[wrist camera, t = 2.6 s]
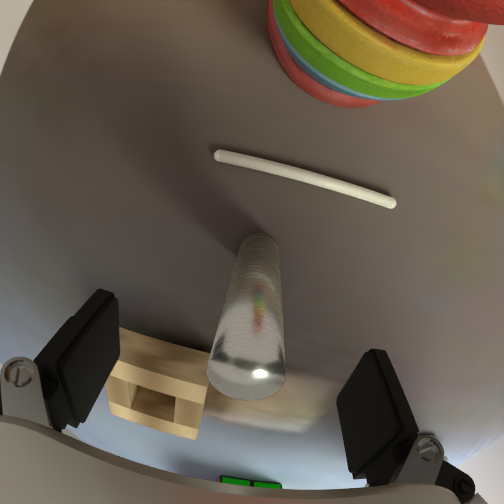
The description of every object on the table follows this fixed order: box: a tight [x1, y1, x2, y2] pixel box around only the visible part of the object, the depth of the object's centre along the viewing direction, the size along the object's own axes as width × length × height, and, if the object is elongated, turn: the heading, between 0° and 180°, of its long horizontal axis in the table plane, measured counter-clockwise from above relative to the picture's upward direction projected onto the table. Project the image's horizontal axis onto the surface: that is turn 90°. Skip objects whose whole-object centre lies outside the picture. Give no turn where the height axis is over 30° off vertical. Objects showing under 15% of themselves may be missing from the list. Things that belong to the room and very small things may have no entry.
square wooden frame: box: [105, 327, 210, 440], centre depth 24 cm, size 9×9×4 cm
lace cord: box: [214, 150, 396, 209], centre depth 18 cm, size 13×1×1 cm, turn 77°
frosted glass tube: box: [207, 233, 285, 400], centre depth 15 cm, size 3×3×12 cm
